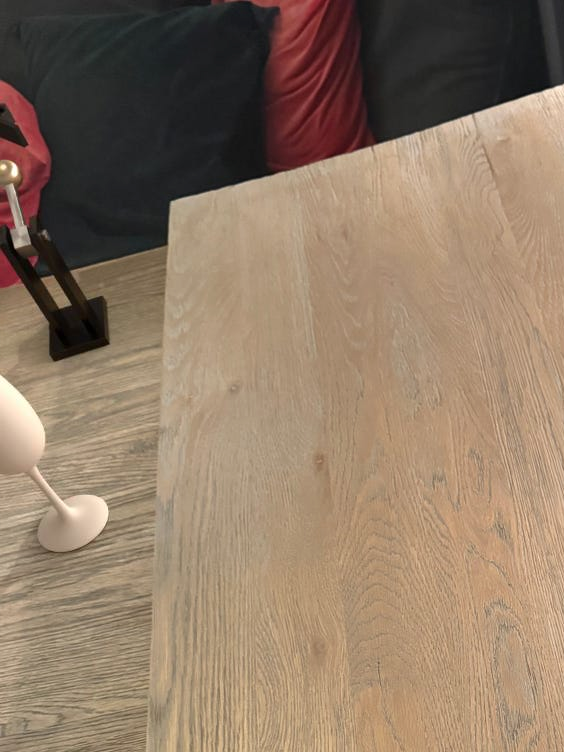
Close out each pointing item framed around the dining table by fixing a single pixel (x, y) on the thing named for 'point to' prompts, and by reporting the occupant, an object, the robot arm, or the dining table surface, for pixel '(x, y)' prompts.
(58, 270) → the bracket
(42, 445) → the wineglass
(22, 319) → the dining table surface
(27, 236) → the lever
